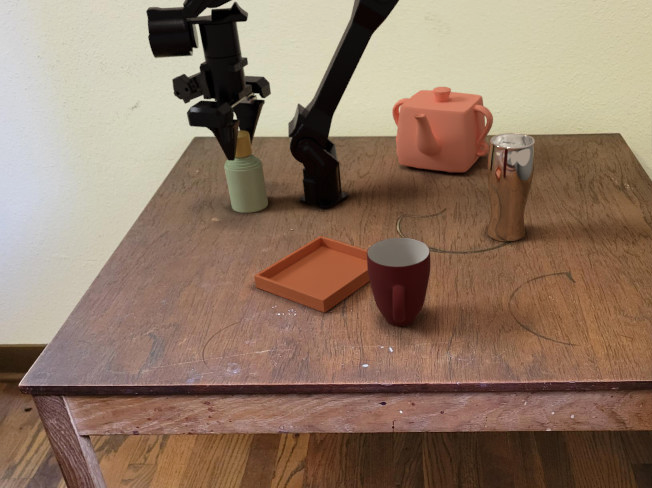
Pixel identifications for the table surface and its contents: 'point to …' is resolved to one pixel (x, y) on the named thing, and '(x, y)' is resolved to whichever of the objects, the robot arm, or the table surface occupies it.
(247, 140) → the bottle cap
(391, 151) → the table surface
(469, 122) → the teapot
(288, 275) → the tray
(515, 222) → the beer glass
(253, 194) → the bottle
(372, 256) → the mug
